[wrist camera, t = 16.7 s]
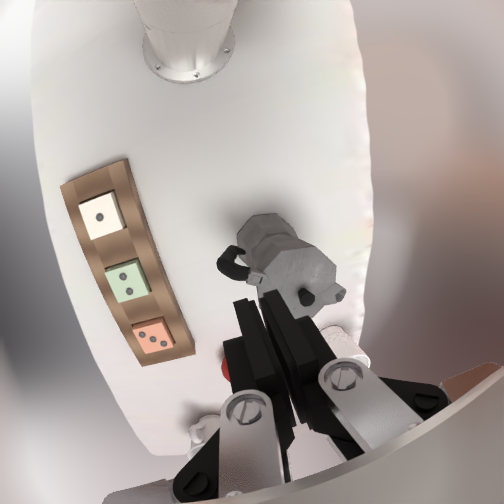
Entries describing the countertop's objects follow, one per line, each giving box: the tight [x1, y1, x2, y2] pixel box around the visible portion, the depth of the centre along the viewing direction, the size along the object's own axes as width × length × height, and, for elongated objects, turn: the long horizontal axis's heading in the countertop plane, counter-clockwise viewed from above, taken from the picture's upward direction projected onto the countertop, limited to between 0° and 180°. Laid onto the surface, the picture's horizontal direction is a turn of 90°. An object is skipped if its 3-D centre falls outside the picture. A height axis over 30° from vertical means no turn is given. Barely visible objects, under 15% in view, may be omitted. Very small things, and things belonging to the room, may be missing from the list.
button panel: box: [60, 159, 196, 367], centre depth 40 cm, size 32×10×3 cm, turn 13°
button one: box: [79, 190, 126, 240], centre depth 35 cm, size 5×5×3 cm
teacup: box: [187, 414, 220, 461], centre depth 52 cm, size 12×15×10 cm
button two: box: [105, 257, 150, 303], centre depth 39 cm, size 5×5×3 cm
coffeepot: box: [216, 214, 346, 319], centre depth 36 cm, size 15×9×18 cm, turn 71°
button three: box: [132, 316, 174, 354], centre depth 43 cm, size 5×5×3 cm
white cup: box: [320, 326, 370, 368], centre depth 50 cm, size 8×8×10 cm
